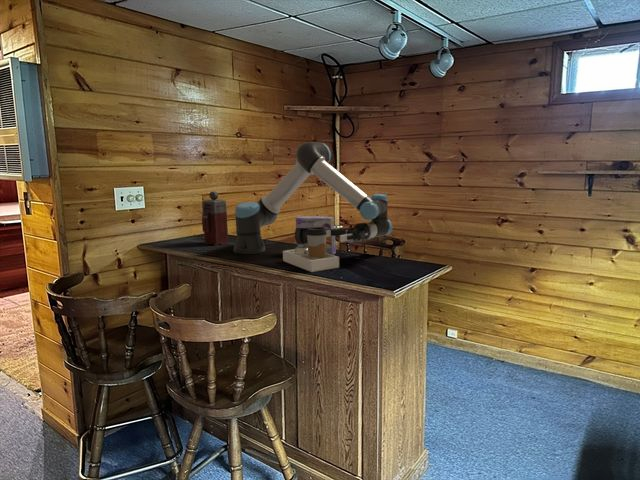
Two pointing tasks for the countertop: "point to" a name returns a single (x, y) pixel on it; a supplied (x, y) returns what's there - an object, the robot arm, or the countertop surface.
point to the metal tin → (301, 250)
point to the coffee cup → (316, 243)
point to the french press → (214, 220)
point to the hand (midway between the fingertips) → (329, 236)
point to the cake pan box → (311, 222)
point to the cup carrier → (311, 261)
